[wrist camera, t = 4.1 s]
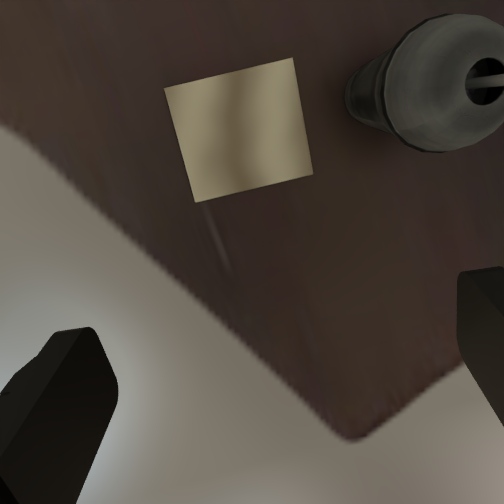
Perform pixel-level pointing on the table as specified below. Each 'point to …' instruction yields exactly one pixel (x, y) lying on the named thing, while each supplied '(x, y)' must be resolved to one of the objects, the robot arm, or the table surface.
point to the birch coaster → (241, 129)
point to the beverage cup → (435, 84)
